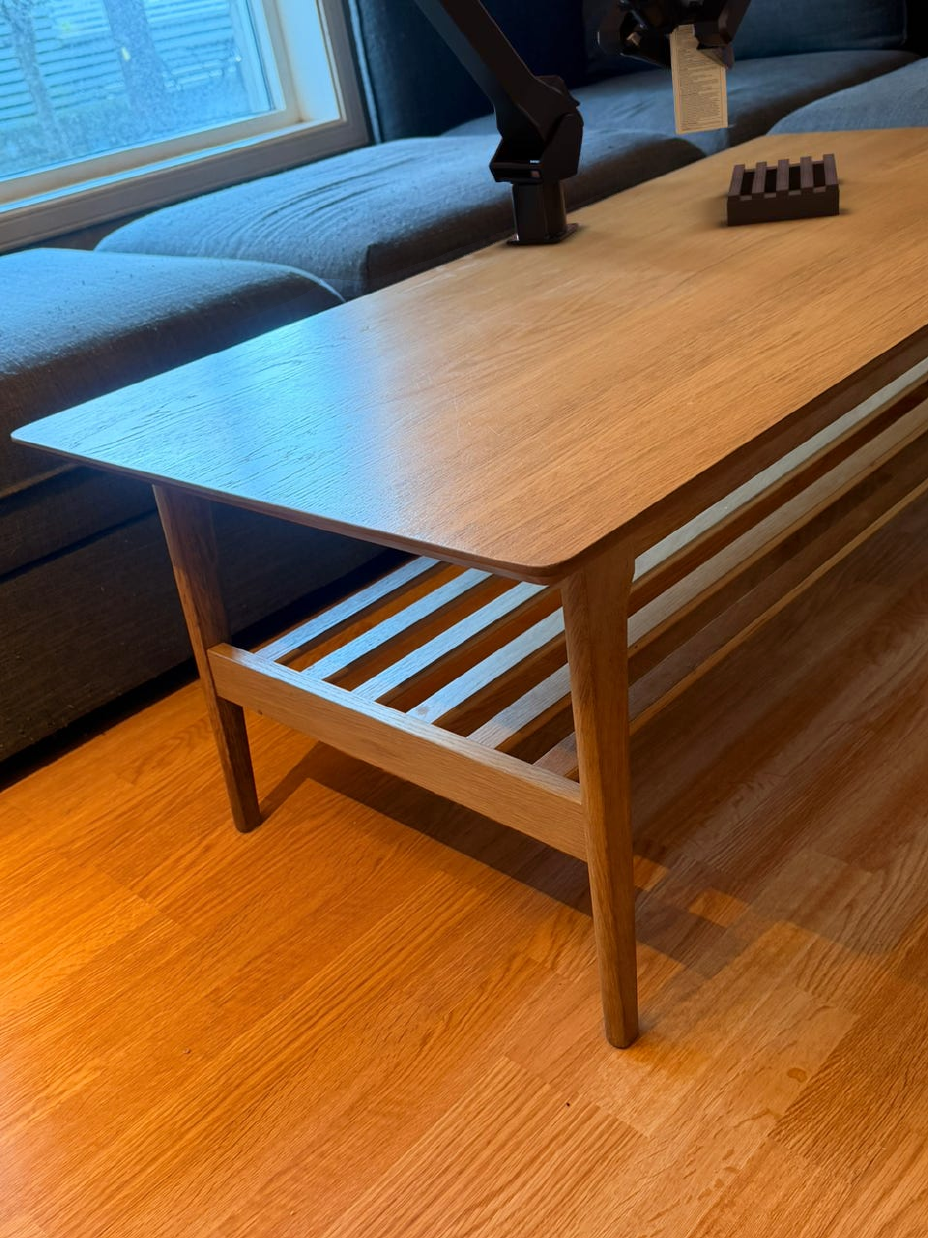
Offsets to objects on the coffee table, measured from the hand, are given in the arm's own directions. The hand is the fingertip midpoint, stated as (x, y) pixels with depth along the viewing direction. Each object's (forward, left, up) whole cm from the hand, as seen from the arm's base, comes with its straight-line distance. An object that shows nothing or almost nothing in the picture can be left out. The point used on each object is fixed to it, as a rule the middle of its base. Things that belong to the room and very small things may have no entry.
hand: (706, 67), depth 133 cm
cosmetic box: (-1, +1, -7) cm, 7 cm away
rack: (-17, -12, -12) cm, 24 cm away
